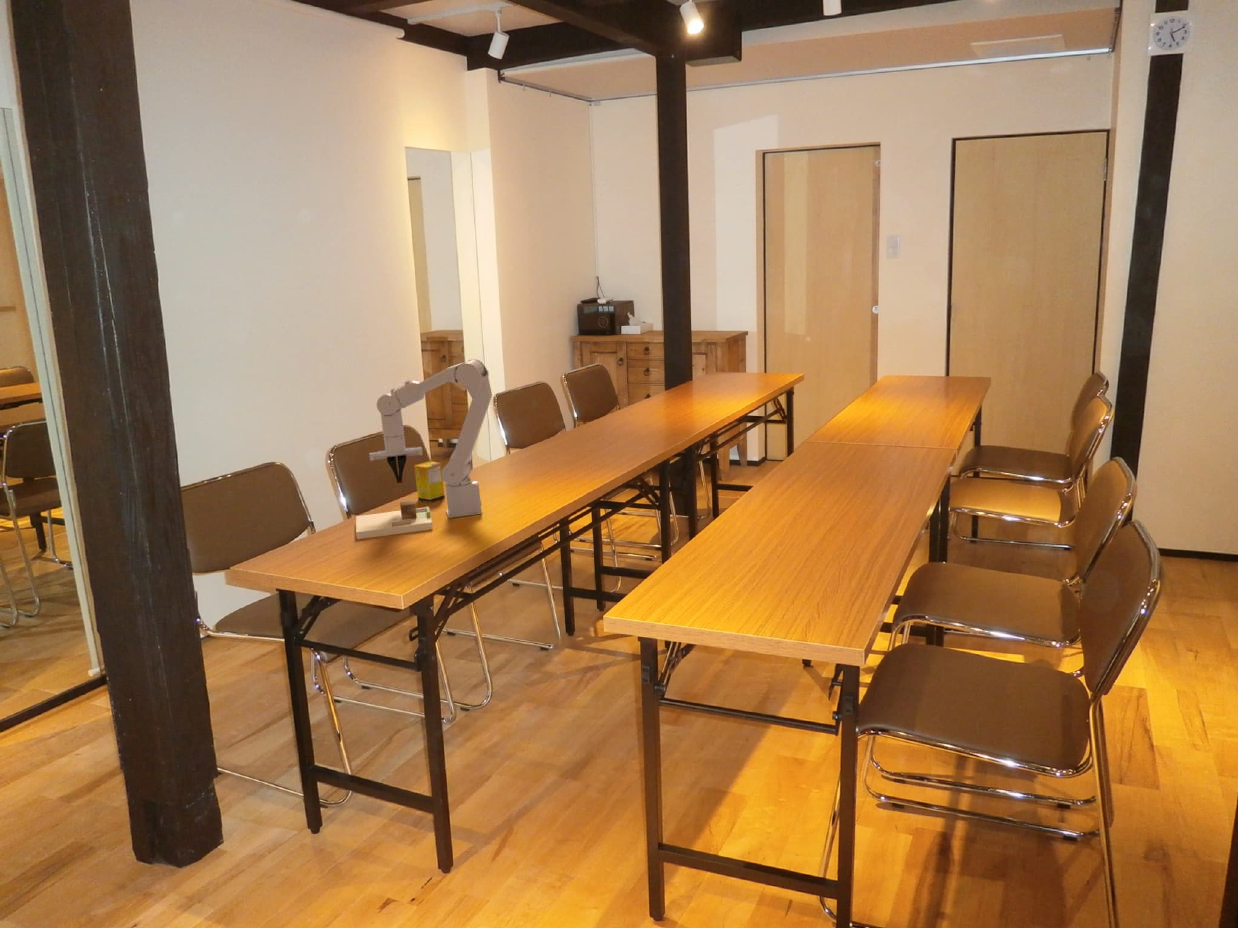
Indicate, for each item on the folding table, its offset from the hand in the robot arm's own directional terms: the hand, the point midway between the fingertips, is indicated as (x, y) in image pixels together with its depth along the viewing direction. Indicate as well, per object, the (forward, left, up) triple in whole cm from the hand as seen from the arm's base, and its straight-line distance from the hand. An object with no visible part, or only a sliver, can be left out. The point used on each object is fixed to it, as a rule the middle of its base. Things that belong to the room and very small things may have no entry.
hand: (399, 481), depth 278 cm
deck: (+3, +10, -10) cm, 14 cm away
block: (-1, +10, -8) cm, 13 cm away
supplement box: (-9, -15, -10) cm, 20 cm away
